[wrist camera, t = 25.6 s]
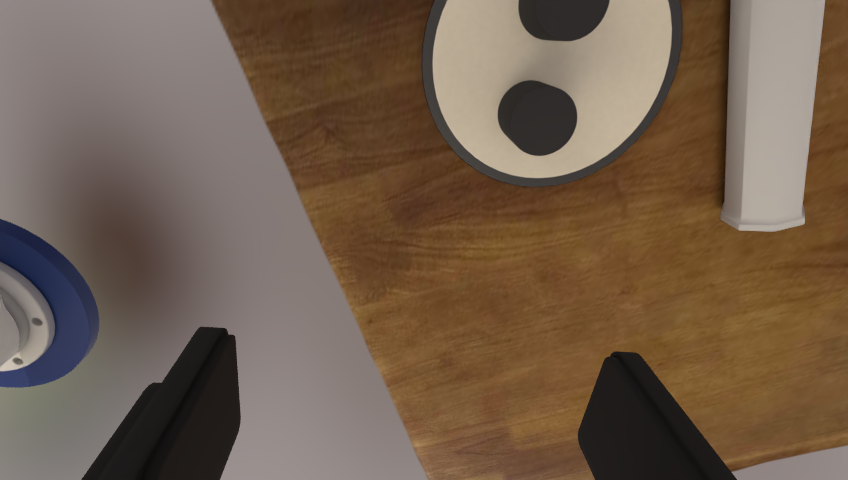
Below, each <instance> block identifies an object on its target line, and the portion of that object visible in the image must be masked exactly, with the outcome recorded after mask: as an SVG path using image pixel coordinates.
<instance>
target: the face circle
mask: <svg viewBox="0 0 848 480" xmlns="http://www.w3.org/2000/svg"><path fill="white" fill-rule="evenodd" d="M518 3H519V0H435V1H434V3H433V5H432V8H431V11H430V14H429V17H428V21H427V24H426V28H425V34H424V40H423V46H422V78H423V85H424V90H425V96H426V100H427V103H428V106H429V109H430V112H431V115H432V117H433V119H434V121H435V123H436V125H437V127H438V130H439V131H440V133H441V134H442V136H443V137H444V139H445V140H446V142H447V143H448V145H449V146H450V147H451V148H452V149H453V150H454V151H455V153H456V154H457V155H458V156H459V157H460V158H462V159H463V160H464V161H465V162H466V163H467V164H468V165H470V166H471V167H473V168H474V169H476V170H477V171H479V172H481V173H482V174H484V175H487V176H489V177H491V178H493V179H495V180H498V181H501V182H505V183H508V184H513V185H518V186H527V187H544V186H554V185H559V184H564V183H568V182H571V181H574V180H577V179H580V178H583V177H585V176H587V175H590V174H592V173H594V172H596V171H598V170H600V169H601V168H603V167H605V166H606V165H608V164H609V163H611V162H612V161H614V160H615V159H616V158H618V157H619V156H620V155H621V154H623V153H624V152H625V151H626V150H627V149H628V148H629V147H630V146H631V145H633V144H634V143H635V142H636V141H637V140H638V138H639V137H640V136H641V135H642V134H643V132H644V131H645V130H646V129H647V128H648V126H649V125H650V123H651V122H652V121H653V119H654V118H655V116H656V115H657V113H658V112H659V110H660V108H661V106H662V104H663V102H664V100H665V99H666V97H667V94H668V92H669V89H670V87H671V84H672V82H673V79H674V76H675V72H676V69H677V65H678V62H679V56H680V50H681V43H682V14H681V5H680V0H610V2H609V6H608V9H607V12H606V14H605V16H604V18H603V19H602V21H601V22H600V24H599V25H598V26H597V27H596V28H595V29H594V30H593V31H592V32H591V33H590V34H588V35H587V36H585V37H583V38H581V39H578V40H574V41H550V40H541V39H538V38H535V37H534V36H532V35H531V34H529V33H528V32H527V31H526V29H525V28H524V26H523V25H522V23H521V20H520V16H519V10H518ZM527 80H535V81H540V82H542V83H545V84H548V85H551V86H554V87H557V88H559V89H561V90H563V91H565V92H566V93H567V94H568V95H569V96H570V97H571V98H572V100H573V101H574V103H575V106H576V109H577V124H576V128H575V131H574V133H573V135H572V137H571V138H570V140H569V141H568V142H567V143H566V144H565V145H564V146H563V147H562V148H561V149H559V150H558V151H556V152H554V153H552V154H549V155H545V156H534V155H530V154H527V153H525V152H523V151H522V150H520V149H519V148H518V147H517V146H516V145H515V144H514V143H513V142H512V141H511V140H510V139H509V138H508V137H507V136H506V135H505V134H504V133H503V131H502V130H501V128H500V126H499V122H498V107H499V104H500V101H501V99H502V97H503V96H504V94H505V93H506V92H507V91H508V90H509V89H510V88H511V87H512V86H514V85H516V84H517V83H520V82H522V81H527Z"/></svg>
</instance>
